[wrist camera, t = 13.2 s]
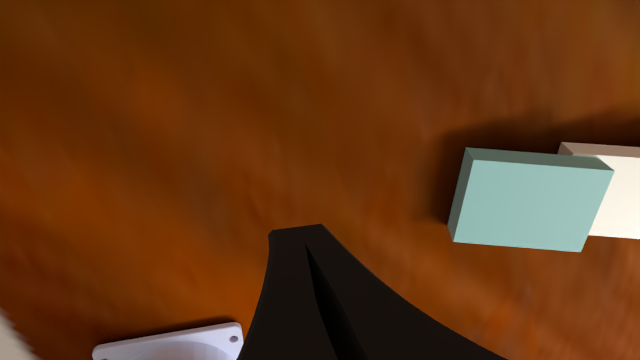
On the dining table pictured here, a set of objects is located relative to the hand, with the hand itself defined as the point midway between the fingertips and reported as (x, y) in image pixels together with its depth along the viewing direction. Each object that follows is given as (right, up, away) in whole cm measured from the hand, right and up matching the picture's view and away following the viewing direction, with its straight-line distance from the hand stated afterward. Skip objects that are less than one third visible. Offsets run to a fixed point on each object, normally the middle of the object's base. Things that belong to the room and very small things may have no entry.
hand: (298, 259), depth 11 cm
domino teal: (+8, +1, +13) cm, 15 cm away
